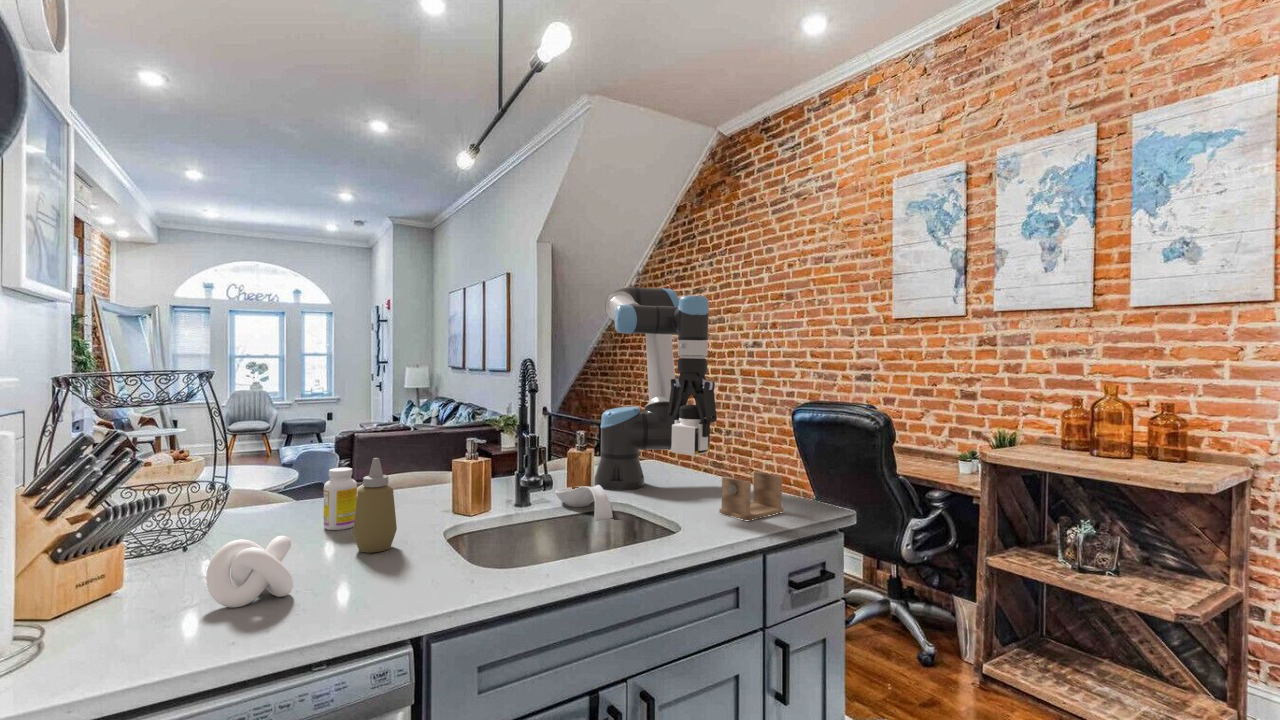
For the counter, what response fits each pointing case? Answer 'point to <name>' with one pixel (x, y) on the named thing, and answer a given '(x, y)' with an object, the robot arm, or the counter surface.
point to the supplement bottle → (340, 499)
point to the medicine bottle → (687, 432)
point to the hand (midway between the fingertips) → (690, 447)
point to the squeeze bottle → (375, 512)
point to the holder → (764, 496)
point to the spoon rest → (587, 500)
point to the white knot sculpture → (248, 571)
